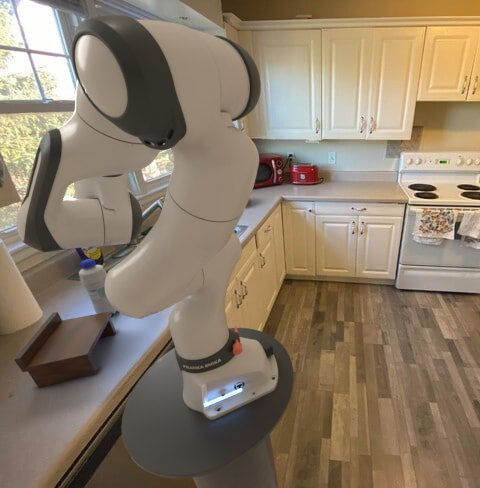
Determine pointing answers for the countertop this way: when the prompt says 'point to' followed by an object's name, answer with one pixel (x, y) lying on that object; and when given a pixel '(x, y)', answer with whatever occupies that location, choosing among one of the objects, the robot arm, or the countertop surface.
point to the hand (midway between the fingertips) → (93, 236)
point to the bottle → (95, 285)
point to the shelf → (64, 348)
